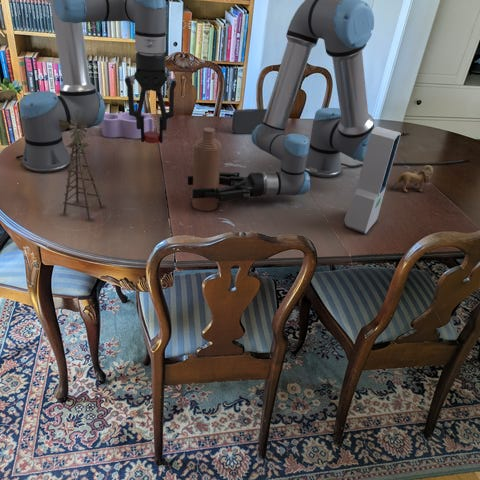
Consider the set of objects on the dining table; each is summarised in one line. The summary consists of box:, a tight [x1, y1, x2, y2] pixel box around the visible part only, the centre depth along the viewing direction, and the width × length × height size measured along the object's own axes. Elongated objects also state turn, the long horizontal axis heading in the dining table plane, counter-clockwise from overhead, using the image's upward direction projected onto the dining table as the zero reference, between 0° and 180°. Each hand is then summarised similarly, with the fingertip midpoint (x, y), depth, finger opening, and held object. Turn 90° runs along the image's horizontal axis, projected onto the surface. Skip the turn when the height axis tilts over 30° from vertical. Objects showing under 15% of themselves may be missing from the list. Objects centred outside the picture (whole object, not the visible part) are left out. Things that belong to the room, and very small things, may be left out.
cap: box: [144, 130, 160, 144], centre depth 130 cm, size 4×4×2 cm
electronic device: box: [343, 126, 402, 235], centre depth 137 cm, size 12×8×30 cm, turn 148°
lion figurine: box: [392, 165, 434, 193], centre depth 167 cm, size 15×5×9 cm, turn 110°
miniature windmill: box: [59, 109, 104, 220], centre depth 128 cm, size 9×8×30 cm
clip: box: [101, 111, 155, 140], centre depth 188 cm, size 20×12×7 cm, turn 109°
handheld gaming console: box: [231, 108, 267, 135], centre depth 202 cm, size 23×3×10 cm, turn 108°
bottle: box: [191, 127, 223, 212], centre depth 139 cm, size 8×8×24 cm
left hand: (152, 140), depth 131 cm, fingers closed on cap, 4 cm apart
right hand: (190, 187), depth 141 cm, fingers closed on bottle, 8 cm apart
